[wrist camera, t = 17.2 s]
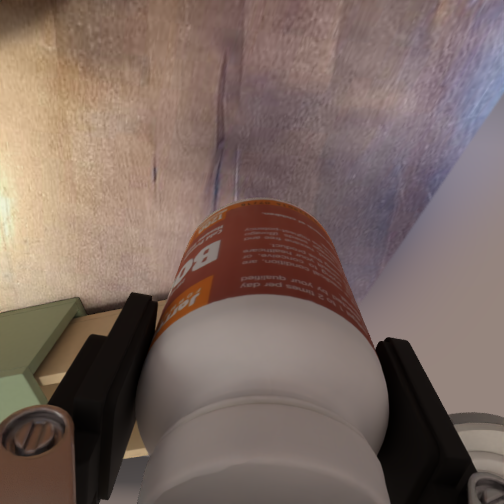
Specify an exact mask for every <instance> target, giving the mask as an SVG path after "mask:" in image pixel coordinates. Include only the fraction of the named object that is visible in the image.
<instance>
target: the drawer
mask: <svg viewBox="0 0 504 504" xmlns="http://www.w3.org/2000/svg"><path fill="white" fill-rule="evenodd" d="M166 301H167V300H162V301H157V302H158V311H157V319H156V327H157V325H158V322H159V319H160V316H161V314H162V310H163V308H164V306H165V304H166ZM121 310H122V309H118V310H113V311H108V312H103V313H98V314H93V315H88V316H83V317H78V318H73V319H72V320H71V321H70V323H69V324H68V325H67V327H66V328H65V330H64V331H63V333H62V334H61V336H60V337H59V338H58V340H57V341H56V343H55V344H54V346H53V347H52V348H51V350H50V351H49V353H48V354H47V356H46V357H45V358H44V360H43V361H42V363H41V364H40V366H39V367H38V369H37V370H36V371H35V373H34V374H33V376H34V378H35V379H36V381H37V383H38V385H39V386H40V388H41V390H42V391H43V393H44V395H45V396H46V398H47V400H48V401H49V400H50V398H51V397H52V395H53V393H54V392H55V390H56V388H57V387H58V385H59V384H60V382H61V380H62V379H63V377H64V375H65V374H66V372H67V371H68V369H69V367H70V366H71V364H72V362H73V361H74V359H75V358H76V356H77V354H78V353H79V351H80V349H81V348H82V346H83V344H84V343H85V341H86V340H87V338H88V337H89V335H91V334H97V335H103V336H108V334H109V332H110V330H111V329H112V327H113V325H114V323H115V321H116V319H117V318H118V316H119V314H120V312H121ZM156 327H155V330H156ZM145 455H149V454H148V452H147V450H146V448H145V446H144V443H143V441H142V438H141V436H140V433H139V430H138V426H137V420H136V422H135V425H134V428H133V431H132V434H131V437H130V439H129V442H128V445H127V448H126V451H125V454H124V457H123V459H126V458H132V457H138V456H145Z"/></svg>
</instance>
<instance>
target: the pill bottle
mask: <svg viewBox="0 0 504 504" xmlns="http://www.w3.org/2000/svg"><path fill="white" fill-rule="evenodd" d="M135 412H136V420H137V426H138V430H139V433H140V436H141V438H142V441H143V443H144V446H145V448H146V450H147V452H148V454H149V456H150V458H149V460H148V463H147V465H146V468H145V471H144V476H143V480H142V484H141V488H140V493H139V497H138V502H137V504H391V503H390V499H389V495H388V492H387V488H386V484H385V478H384V473H383V470H382V466H381V463H380V462H379V460H378V458H377V454H378V453H379V451H380V448H381V446H382V444H383V441H384V438H385V434H386V431H387V427H388V420H389V400H388V391H387V386H386V381H385V378H384V374H383V371H382V367H381V364H380V361H379V358H378V356H377V353H376V351H375V348H374V345H373V343H372V341H371V338H370V335H369V333H368V330H367V328H366V326H365V323H364V321H363V318H362V316H361V313H360V310H359V308H358V306H357V303H356V301H355V299H354V296H353V294H352V291H351V289H350V286H349V284H348V281H347V278H346V276H345V274H344V271H343V268H342V266H341V263H340V260H339V258H338V255H337V252H336V250H335V247H334V245H333V243H332V241H331V239H330V237H329V235H328V234H327V232H326V230H325V229H324V228H323V226H322V225H321V224H320V223H319V222H318V221H317V220H316V219H315V218H314V217H313V216H312V215H311V214H309V213H308V212H307V211H305V210H304V209H302V208H300V207H298V206H296V205H294V204H292V203H289V202H286V201H283V200H279V199H273V198H249V199H244V200H239V201H236V202H233V203H230V204H228V205H226V206H223V207H222V208H220V209H218V210H216V211H215V212H213V213H212V214H211V215H209V216H208V217H207V218H206V219H205V220H204V221H203V222H202V223H201V224H200V225H199V226H198V228H197V229H196V231H195V232H194V234H193V235H192V237H191V239H190V241H189V243H188V245H187V247H186V250H185V253H184V255H183V258H182V261H181V263H180V266H179V269H178V272H177V274H176V277H175V280H174V282H173V285H172V288H171V290H170V293H169V296H168V298H167V301H166V304H165V306H164V308H163V310H162V314H161V316H160V319H159V322H158V325H157V327H156V330H155V333H154V336H153V339H152V341H151V344H150V347H149V349H148V352H147V354H146V357H145V360H144V363H143V367H142V370H141V374H140V377H139V380H138V385H137V389H136V398H135Z"/></svg>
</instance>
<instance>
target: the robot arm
mask: <svg viewBox="0 0 504 504" xmlns="http://www.w3.org/2000/svg"><path fill="white" fill-rule="evenodd" d="M157 311H158V302H155V301H152V296H150V295H145V294H139V293H133V292H132V293H131V294H130V296H129V297H128V299H127V301H126V303H125V305H124V307H123V308H122V310H121V312H120V314H119V316H118V318H117V319H116V321H115V323H114V325H113V327H112V329H111V330H110V332H109V334H108V336H103V335H97V334H91V335H89V337H88V338H87V340H86V341H85V343H84V344H83V346H82V348H81V349H80V351H79V353H78V354H77V356H76V358H75V359H74V361H73V362H72V364H71V366H70V367H69V369H68V371H67V372H66V374H65V375H64V377H63V379H62V380H61V382H60V384H59V385H58V387H57V388H56V390H55V392H54V393H53V395H52V397H51V398H50V400H49V402H48V403H47V404H46V405H33V406H29V407H25V408H22V409H20V410H18V411H16V412H14V413H12V414H11V415H9V416H8V417H7V418H5V419H4V420H3V421H2V422H1V424H0V504H99V502H100V499H103V500H108V499H109V498H110V495H111V493H112V490H113V487H114V484H115V481H116V478H117V475H118V472H119V469H120V466H121V463H122V460H123V457H124V454H125V451H126V448H127V445H128V442H129V439H130V437H131V434H132V431H133V428H134V425H135V422H136V412H135V398H136V389H137V385H138V380H139V377H140V374H141V370H142V367H143V363H144V360H145V357H146V354H147V352H148V349H149V347H150V344H151V341H152V339H153V336H154V333H155V327H156V319H157ZM375 351H376V353H377V356H378V358H379V361H380V364H381V367H382V371H383V374H384V378H385V381H386V386H387V391H388V400H389V420H388V427H387V431H386V434H385V438H384V441H383V444H382V446H381V448H380V451H379V453H378V454H377V458H378V460H379V462H380V463H381V466H382V470H383V473H384V478H385V484H386V488H387V492H388V495H389V499H390V503H391V504H504V456H501V455H498V454H495V453H489V452H483V451H467V450H466V448H465V446H464V444H463V442H462V440H461V438H460V436H459V435H458V433H457V431H456V429H455V427H454V425H453V423H452V421H451V420H450V418H449V416H448V414H447V412H446V410H445V408H444V407H443V405H442V403H441V401H440V399H439V397H438V395H437V393H436V392H435V390H434V388H433V386H432V384H431V382H430V380H429V378H428V377H427V375H426V373H425V371H424V369H423V367H422V365H421V364H420V362H419V360H418V358H417V356H416V354H415V352H414V350H413V349H412V347H411V345H410V343H409V342H408V341H406V340H401V339H395V338H390V337H388V338H386V339H385V340H384V341H380V342H379V343H378V344H377V347H376V349H375Z"/></svg>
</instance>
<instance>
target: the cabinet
mask: <svg viewBox="0 0 504 504" xmlns="http://www.w3.org/2000/svg"><path fill="white" fill-rule="evenodd" d="M83 316H87V314H86V312H85V309H84V307H83V305H82V303H81V301H80V299H79V297H77V298H72V299H67V300H62V301H58V302H53V303H48V304H43V305H38V306H33V307H29V308H24V309H19V310H14V311H9V312H4V313H0V424H1V422H2V421H3V420H4V419H5V418H7V417H8V416H9V415H11V414H12V413H14V412H16V411H18V410H20V409H22V408H25V407H29V406H33V405H46V404H47V403H48V402H49V401H48V400H47V398H46V396H45V395H44V393H43V391H42V390H41V388H40V386H39V385H38V383H37V381H36V379H35V378H34V376H33V374H34V373H35V371H36V370H37V369H38V367H39V366H40V364H41V363H42V361H43V360H44V358H45V357H46V356H47V354H48V353H49V351H50V350H51V348H52V347H53V346H54V344H55V343H56V341H57V340H58V338H59V337H60V336H61V334H62V333H63V331H64V330H65V328H66V327H67V325H68V324H69V323H70V321H71V320H72V319H73V318H78V317H83Z"/></svg>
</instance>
